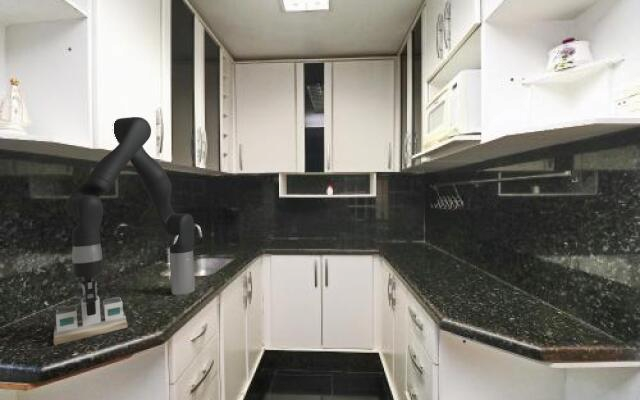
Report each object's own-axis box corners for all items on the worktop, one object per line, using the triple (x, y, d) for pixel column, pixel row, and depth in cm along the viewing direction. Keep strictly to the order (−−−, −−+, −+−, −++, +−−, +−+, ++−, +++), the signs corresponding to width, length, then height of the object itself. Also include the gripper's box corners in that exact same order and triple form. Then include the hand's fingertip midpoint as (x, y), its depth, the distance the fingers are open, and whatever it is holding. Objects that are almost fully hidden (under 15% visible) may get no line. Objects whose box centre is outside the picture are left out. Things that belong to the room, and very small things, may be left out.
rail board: (55, 331, 102) (54, 306, 102) (122, 316, 113) (121, 293, 113) (53, 345, 93) (52, 317, 92) (127, 327, 103) (126, 302, 103)
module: (82, 320, 104) (80, 297, 103) (99, 317, 106) (98, 294, 106) (82, 326, 99) (81, 301, 99) (100, 322, 102) (99, 298, 102)
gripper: (103, 260, 99) (107, 314, 99) (100, 254, 110) (103, 302, 111) (72, 265, 94) (76, 321, 95) (72, 258, 106) (75, 308, 106)
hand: (90, 311), depth 103 cm, fingers open, 8 cm apart
